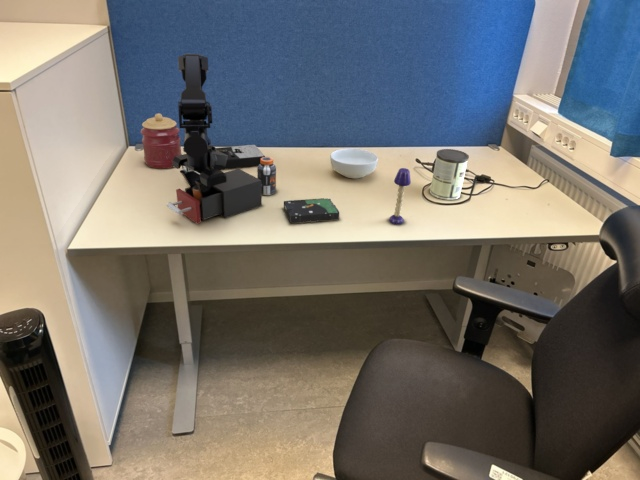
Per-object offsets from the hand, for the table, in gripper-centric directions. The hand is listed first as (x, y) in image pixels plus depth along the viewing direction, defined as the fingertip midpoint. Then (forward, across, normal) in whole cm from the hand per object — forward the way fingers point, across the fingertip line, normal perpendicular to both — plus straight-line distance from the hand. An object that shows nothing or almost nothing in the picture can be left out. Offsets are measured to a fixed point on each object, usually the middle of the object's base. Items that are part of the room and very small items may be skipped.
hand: (201, 197), depth 134 cm
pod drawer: (+5, 0, +1) cm, 5 cm away
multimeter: (+6, +29, -32) cm, 43 cm away
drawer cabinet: (+6, 0, -11) cm, 12 cm away
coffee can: (+6, -36, -72) cm, 81 cm away
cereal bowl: (+6, -6, -59) cm, 59 cm away
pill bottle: (+6, +1, -25) cm, 26 cm away
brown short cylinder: (+1, 0, 0) cm, 1 cm away
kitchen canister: (+6, +43, -11) cm, 45 cm away
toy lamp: (+6, -38, -42) cm, 57 cm away
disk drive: (+6, -19, -25) cm, 32 cm away
